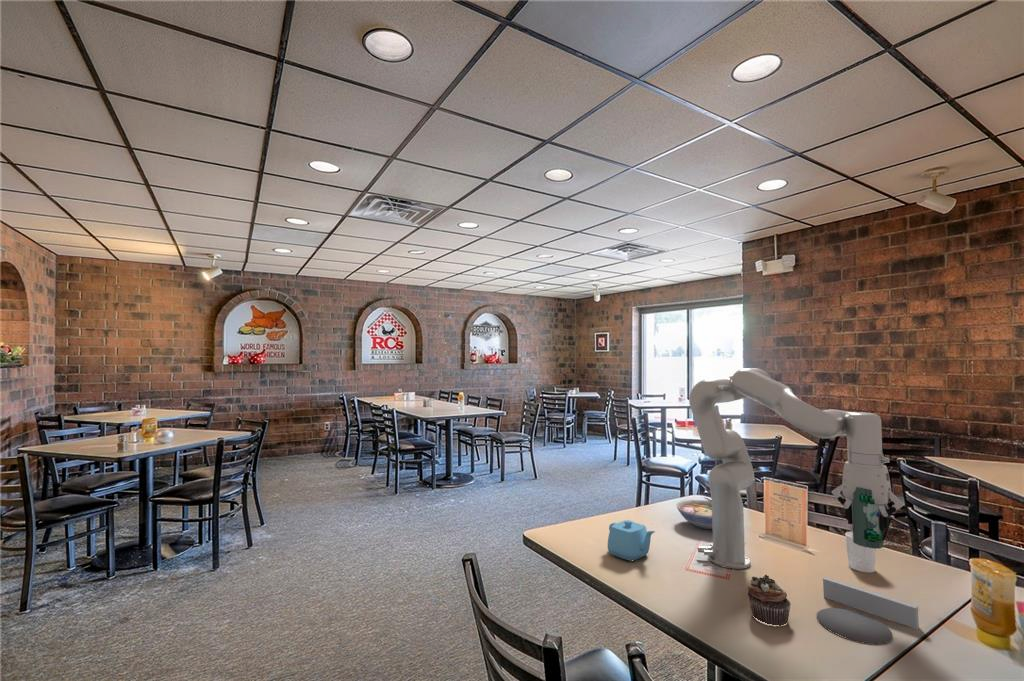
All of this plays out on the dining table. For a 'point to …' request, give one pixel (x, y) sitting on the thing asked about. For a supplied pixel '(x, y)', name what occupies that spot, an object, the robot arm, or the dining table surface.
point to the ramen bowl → (697, 512)
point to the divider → (871, 602)
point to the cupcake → (768, 601)
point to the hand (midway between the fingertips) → (867, 526)
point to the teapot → (628, 540)
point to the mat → (854, 625)
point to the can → (866, 520)
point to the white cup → (860, 555)
